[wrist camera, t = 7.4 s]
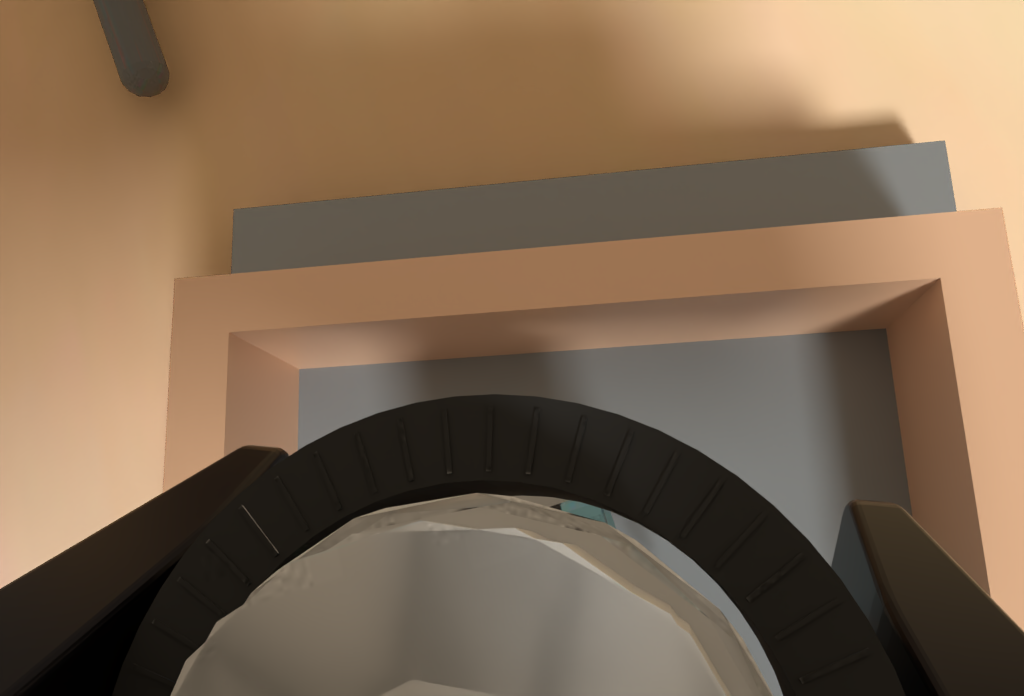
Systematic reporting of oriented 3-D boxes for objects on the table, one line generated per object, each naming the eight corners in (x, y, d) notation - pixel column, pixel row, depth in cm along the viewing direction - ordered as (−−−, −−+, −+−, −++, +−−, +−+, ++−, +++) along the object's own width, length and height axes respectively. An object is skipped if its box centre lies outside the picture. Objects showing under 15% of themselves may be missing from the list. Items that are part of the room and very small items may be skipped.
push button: (387, 470, 15) (-97, 325, 6) (680, 375, 15) (677, 37, 5) (492, 882, 13) (35, 1674, 4) (830, 792, 13) (1251, 1454, 3)
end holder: (1080, 1119, 13) (1253, 1346, 10) (226, 1078, 15) (85, 1255, 12) (928, 163, 17) (1009, 51, 13) (254, 226, 19) (156, 144, 15)
